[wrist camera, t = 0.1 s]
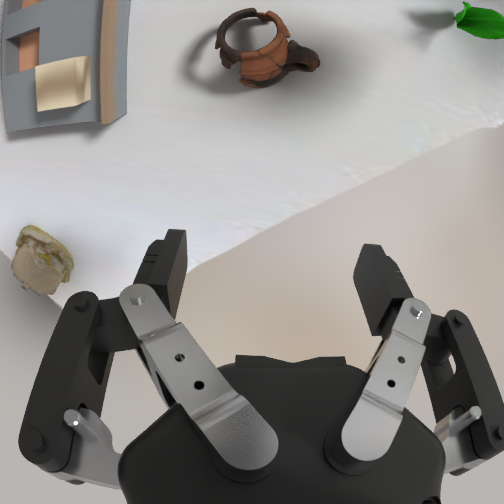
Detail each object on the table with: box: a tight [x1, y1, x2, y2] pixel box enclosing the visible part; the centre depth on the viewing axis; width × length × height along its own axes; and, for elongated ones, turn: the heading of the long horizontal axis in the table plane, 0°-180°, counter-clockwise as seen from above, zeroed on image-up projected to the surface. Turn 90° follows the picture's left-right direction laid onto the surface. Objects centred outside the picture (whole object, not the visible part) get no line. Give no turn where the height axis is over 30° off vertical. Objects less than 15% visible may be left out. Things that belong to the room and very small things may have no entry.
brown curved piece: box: [215, 8, 320, 88], centre depth 30 cm, size 12×10×8 cm
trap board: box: [1, 0, 131, 133], centre depth 23 cm, size 32×20×7 cm, turn 175°
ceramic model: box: [11, 225, 74, 295], centre depth 46 cm, size 14×11×10 cm
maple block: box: [35, 55, 91, 112], centre depth 27 cm, size 6×6×4 cm
